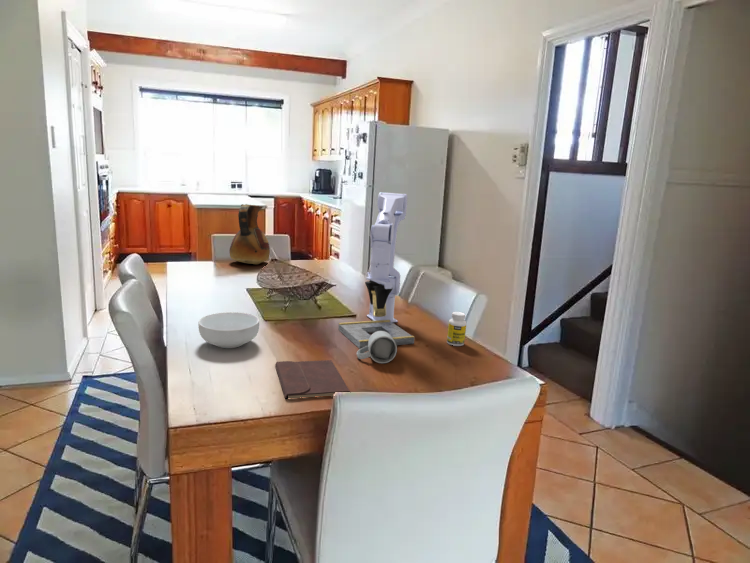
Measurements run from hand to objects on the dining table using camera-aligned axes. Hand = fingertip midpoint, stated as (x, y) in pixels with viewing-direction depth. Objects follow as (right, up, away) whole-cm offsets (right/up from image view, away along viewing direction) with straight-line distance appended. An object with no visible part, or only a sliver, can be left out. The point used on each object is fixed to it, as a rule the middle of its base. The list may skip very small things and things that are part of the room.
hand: (377, 306), depth 162 cm
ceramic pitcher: (-64, +17, +104) cm, 123 cm away
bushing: (+1, -3, +1) cm, 3 cm away
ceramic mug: (0, -14, -16) cm, 22 cm away
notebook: (-16, -17, -34) cm, 41 cm away
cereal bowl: (-42, -10, -12) cm, 45 cm away
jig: (-1, -10, +2) cm, 10 cm away
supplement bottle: (+24, -12, 0) cm, 27 cm away
